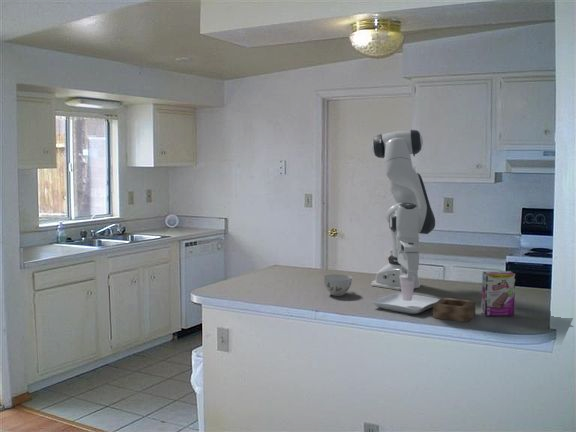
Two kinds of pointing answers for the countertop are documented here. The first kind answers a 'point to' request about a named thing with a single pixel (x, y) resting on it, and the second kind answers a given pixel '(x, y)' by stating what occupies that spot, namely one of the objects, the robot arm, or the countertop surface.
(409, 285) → the smoothie
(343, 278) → the teacup
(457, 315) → the walnut holder
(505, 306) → the candy bar box
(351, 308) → the countertop surface
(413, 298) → the salad plate
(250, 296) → the countertop surface
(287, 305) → the countertop surface
